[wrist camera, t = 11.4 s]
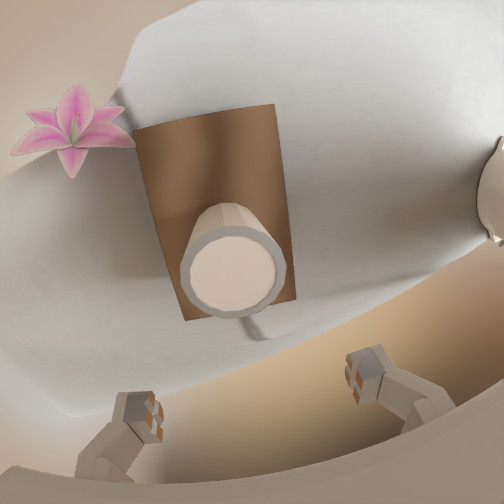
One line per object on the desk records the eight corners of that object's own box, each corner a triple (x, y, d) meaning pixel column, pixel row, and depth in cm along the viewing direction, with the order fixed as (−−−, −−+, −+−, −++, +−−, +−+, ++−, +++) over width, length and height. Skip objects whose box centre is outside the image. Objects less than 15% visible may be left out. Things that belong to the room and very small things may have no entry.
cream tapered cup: (170, 245, 25) (159, 289, 19) (217, 178, 23) (220, 203, 17) (235, 283, 28) (245, 334, 22) (283, 224, 26) (308, 263, 20)
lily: (156, 156, 31) (153, 115, 22) (73, 224, 29) (38, 207, 19) (103, 89, 30) (90, 40, 21) (26, 149, 27) (-9, 114, 18)
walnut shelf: (256, 106, 29) (274, 103, 21) (277, 258, 38) (296, 299, 29) (152, 126, 29) (132, 131, 21) (188, 275, 37) (185, 321, 29)
